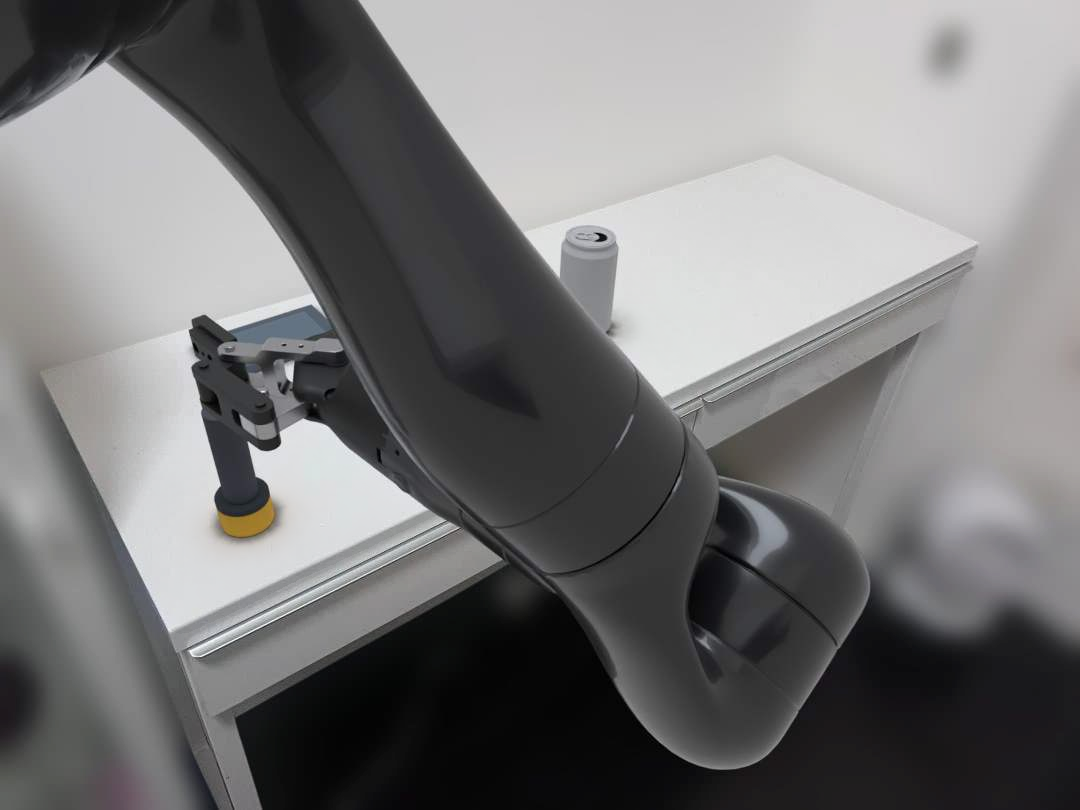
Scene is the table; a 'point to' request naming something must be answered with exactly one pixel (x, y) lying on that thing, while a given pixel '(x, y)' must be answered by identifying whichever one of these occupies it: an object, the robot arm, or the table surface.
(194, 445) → the table surface
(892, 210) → the table surface
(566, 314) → the robot arm
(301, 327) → the plate
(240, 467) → the sponge wand
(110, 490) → the table surface
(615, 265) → the beverage can
